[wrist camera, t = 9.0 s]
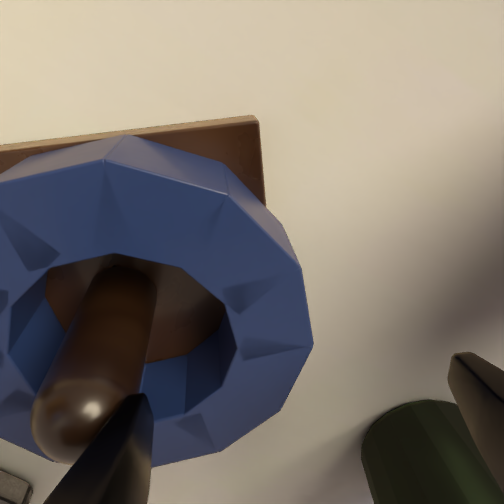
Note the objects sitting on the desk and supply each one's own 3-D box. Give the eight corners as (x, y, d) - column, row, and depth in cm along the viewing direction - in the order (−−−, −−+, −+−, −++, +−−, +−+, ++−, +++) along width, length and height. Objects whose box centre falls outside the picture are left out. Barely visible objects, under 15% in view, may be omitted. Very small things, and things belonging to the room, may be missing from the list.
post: (254, 114, 13) (308, 185, 6) (276, 359, 18) (317, 539, 11) (-89, 155, 12) (-436, 281, 6) (37, 395, 17) (-64, 607, 11)
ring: (261, 102, 11) (277, 118, 9) (308, 368, 17) (327, 427, 14) (-106, 186, 11) (-199, 227, 9) (59, 425, 17) (32, 496, 14)
